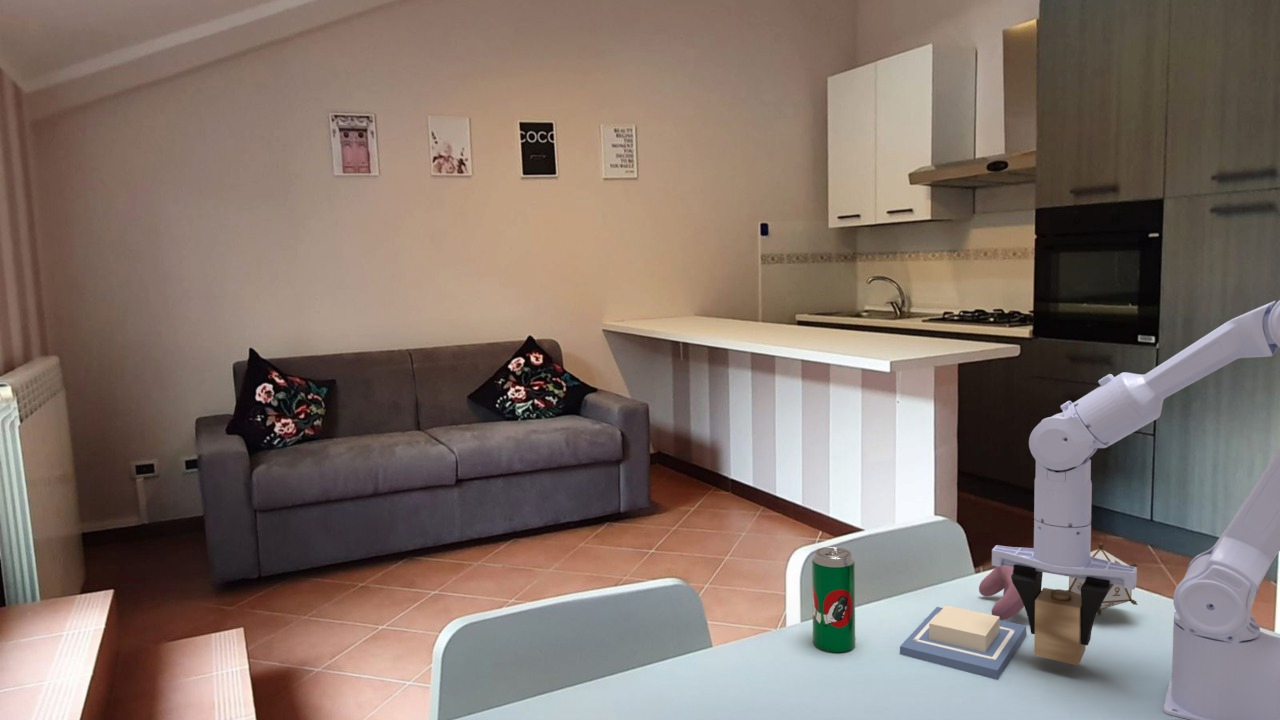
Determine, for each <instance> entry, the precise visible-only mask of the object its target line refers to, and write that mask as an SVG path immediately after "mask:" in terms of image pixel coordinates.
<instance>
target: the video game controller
mask: <svg viewBox="0 0 1280 720" xmlns="http://www.w3.org/2000/svg"><path fill="white" fill-rule="evenodd" d="M1013 569H1014V567H1010V566H1004V565H1003V566H1001V567H998V566H994V569H993V570H992V571H991V572H990V573H988V574H987V575H986V576H985V577H984V578H983V579H982V581H981V582H980V583H979V585H978V586H979V587H978V591H979V593H980V595H981V596H983V597H992V596H994V595H997V594H998V593H1000V592H1001V591H1003V593H1002V596H1001V597H1000V599H997V600H998V601H996V602H995V603H994V605H993V607H992V609H991V615H994V616H999V617H1000V620H1002V621H1007V620H1009V619H1012V618H1014V616H1016V615H1017V614H1019V612H1020V611H1021V610H1022V609H1023V608H1025V607H1024V604H1023V602H1022V600H1021V597H1020V595H1019V593H1018V591H1017V589H1016V588H1015V586H1014V584H1013V582H1012V579H1011V575H1012V574H1013Z"/></svg>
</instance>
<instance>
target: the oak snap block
mask: <svg viewBox="0 0 1280 720" xmlns="http://www.w3.org/2000/svg"><path fill="white" fill-rule="evenodd" d="M1066 590H1067V589H1066ZM1066 590H1065V589H1060V588H1057V589H1056V588H1055V589H1054V588H1049V587H1048V588H1047V587H1043V588H1041V592H1040V594H1039V595H1038V597H1037V598H1036V600H1035V634H1034V645H1033V647H1034V651H1033V652H1034V654H1033V656H1035V657H1036V656H1037V657H1040V658H1043V659H1044V658H1045V659H1048V660H1053V661H1057V662H1062V663H1067V664H1070V665H1071V664H1072V665H1075V666H1079V665H1080V663H1081V660H1082V658H1083V657H1084V654H1085V652H1086V650H1087V649H1086V646H1087V645H1082V644H1081V624H1082V601H1081V594H1076V593H1071V592H1068V591H1066Z"/></svg>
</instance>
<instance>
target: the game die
mask: <svg viewBox="0 0 1280 720" xmlns="http://www.w3.org/2000/svg"><path fill="white" fill-rule="evenodd" d="M1103 548H1104V544H1103V543H1102V541H1100V542H1099V543H1098V548H1097V549H1094V550H1091V554H1090V556H1091V557H1095V558H1099V559H1103V560H1106V561H1110V562H1114V563H1118V564H1122V565H1127V566H1132V567H1137V566H1138V565H1139V563H1136V562H1133V563H1131V564H1129V563H1128V562H1125V561H1124V560H1122V559H1121V558H1119V557H1117V556H1116V555H1113V554H1112V553H1111V552H1108V550H1105V549H1103ZM1137 568H1138V567H1137ZM1068 577H1069V576H1068ZM1085 580H1086V579H1080V578H1075V577H1069V578H1068V589H1066V591H1068V592H1071V593H1076V594H1081V587H1082V585H1083V583H1084V582H1085ZM1128 602H1130V604H1132V605H1137V606H1138V603H1137V601H1136V600H1135V599H1132V589H1127V588H1124V587H1123V586H1122V585H1116V584H1112V585H1111V587H1110V589H1109V591H1108V594H1107V595H1106V597H1105V599H1104V600H1103V602H1102V604H1101V605H1100V607H1099V609H1098V612H1097V615H1098V617H1099V616H1101V615H1102V612H1103V611H1102V610H1104V609H1106V608H1111V607H1114V606H1118V605H1122V604H1125V603H1128Z"/></svg>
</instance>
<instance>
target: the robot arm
mask: <svg viewBox="0 0 1280 720" xmlns="http://www.w3.org/2000/svg"><path fill="white" fill-rule="evenodd" d="M1279 349H1280V300H1278V301H1277V302H1276V300H1274V301H1271V302H1269V303H1266V304H1264V305H1261V306H1259V307H1257V308H1255V309H1252V310H1249V311H1247V312H1245V313H1243V314H1241V315H1238V316H1236V317H1234V318H1232V319H1229V320H1228V321H1226V322H1225V323H1223V324H1222V325H1220V326H1218V327H1217V328H1215V329H1214V330H1212V331H1211V332H1209V333H1207V334H1206V335H1204V336H1202V337H1201V338H1199V339H1198V340H1196V341H1194V343H1192V344H1190V345H1189V346H1187V347H1186V348H1184V349H1183V350H1180V351H1179V352H1177V353H1176V354H1174V355H1173V356H1172V357H1170V358H1168V359H1167V360H1166V361H1165V360H1164V361H1163V362H1162V363H1161V364H1159V365H1157V366H1156V367H1154V368H1153V369H1151V370H1149V371H1148V372H1146V373H1145V374H1140V373H1139V374H1138V373H1133V372H1126V371H1125V372H1121V373H1119V374H1118V375H1116V376H1114V375H1113V374H1111V373H1108V374H1106V376H1103V377H1102V378H1101V379H1099V380H1098V382H1097V383H1098V384H1099V386H1098V387H1096V388H1095V389H1093V390H1091V391H1090V392H1088V393H1087V394H1085V395H1083V396H1082V397H1081V398H1079V399H1077V400H1076V401H1074V402H1072V400H1068V401H1066V402H1065V403H1063V404H1061V405H1060V409H1061V410H1062V412H1059V413H1056V414H1054V415H1052V416H1050V417H1049V416H1048V417H1045V418H1043V419H1042V420H1041V421H1040V422H1039V423H1038V424H1037V425H1036V426H1035V427H1034V428H1033V430H1032V431H1031V432H1030V435H1029V438H1028V447H1029V451H1030V453H1031V455H1032V457H1033V458H1034V460H1035V478H1034V498H1033V499H1034V500H1033V502H1034V503H1033V504H1034V505H1033V506H1034V507H1033V508H1034V510H1033V511H1034V512H1033V514H1034V515H1033V519H1034V520H1033V523H1034V524H1033V526H1034V527H1033V547H1017V546H1015V547H1014V546H1006V545H1005V546H1004V545H999V544H997V545H994V547H993V548H992V549H991V566H993V567H996V566H998V567H1001V566H1003V565H1004V566H1010V567H1014V569H1013V574H1012V575H1011V579H1012V582H1013V584H1014V586H1015V588H1016V589H1017V591H1018V593H1019V595H1020V597H1021V600H1022V602H1023V604H1024V607H1023V608H1024V609H1025V612H1026V613H1025V614H1026V615H1027V620H1028V623H1029V630H1030V634H1031V635H1035V600H1036V598H1037V597H1038V595H1039V594H1040V592H1041V591H1042V584H1043V573H1044V574H1046V573H1047V574H1050V575H1051V574H1052V575H1058V576H1064V577H1075V578H1080V579H1086V580H1085V582H1084V583H1083V585H1082V587H1081V601H1082V624H1081V644H1082V645H1086V646H1089V643H1090V641H1091V638H1092V630H1093V628H1094V627H1093V626H1094V623H1095V620H1096V617H1097V615H1098V613H1097V612H1098V609H1099V607H1100V605H1101V604H1102V602H1103V600H1104V599H1105V597H1106V595H1107V594H1108V591H1109V589H1110V587H1111V585H1112V584H1116V585H1122V586H1123V587H1124V588H1127V589H1132V590H1135V589H1136V586H1137V585H1138V583H1137V582H1138V581H1137V580H1138V579H1137V578H1138V567H1132V566H1127V565H1122V564H1118V563H1114V562H1110V561H1106V560H1103V559H1099V558H1095V557H1091V556H1090V554H1091V551H1092V549H1091V548H1092V546H1091V544H1092V500H1093V499H1092V496H1093V495H1092V491H1093V483H1092V480H1091V477H1092V474H1091V473H1092V471H1091V470H1092V467H1091V466H1092V464H1091V463H1092V460H1091V459H1090V458H1091V457H1092V456H1093V455H1094V454H1095V453H1096V452H1097V450H1098V449H1106V448H1109V447H1110V446H1111V445H1114V444H1115V443H1117V442H1119V441H1120V440H1122V439H1124V438H1125V437H1127V436H1129V435H1132V434H1133V433H1135V432H1136V431H1138V430H1139V429H1141V428H1143V427H1145V426H1147V425H1149V424H1150V423H1152V422H1154V421H1155V420H1157V419H1159V418H1160V416H1161V414H1162V409H1163V405H1164V404H1163V403H1164V401H1165V399H1166V398H1168V397H1170V396H1172V395H1173V394H1176V393H1177V392H1179V391H1181V390H1183V389H1185V388H1186V387H1188V386H1190V385H1192V384H1194V383H1196V382H1197V381H1200V380H1201V379H1203V378H1205V377H1206V376H1209V375H1210V374H1212V373H1214V372H1216V371H1217V370H1219V369H1221V368H1223V367H1225V366H1227V365H1229V364H1230V363H1233V362H1234V361H1236V360H1238V359H1250V358H1266V357H1267V358H1270V357H1273V356H1274V355H1275V354H1276V353H1277V351H1278V350H1279ZM1279 553H1280V447H1278V449H1277V451H1276V452H1275V454H1274V456H1273V457H1272V458H1271V460H1270V462H1269V463H1268V465H1267V466H1266V468H1265V469H1264V470H1263V472H1262V473H1261V475H1260V477H1259V479H1258V480H1257V481H1256V483H1255V484H1254V486H1253V487H1252V489H1251V490H1250V492H1249V494H1248V495H1247V496H1246V498H1245V500H1244V501H1243V503H1242V504H1241V506H1240V507H1239V509H1238V511H1237V512H1236V513H1235V514H1234V517H1233V518H1232V520H1231V521H1230V523H1229V524H1228V525H1227V527H1226V528H1225V529H1224V531H1223V532H1222V534H1221V535H1220V537H1218V539H1217V541H1216V542H1215V544H1214V545H1213V546H1212V547H1211V548H1209V549H1207V550H1205V551H1203V552H1201V553H1199V554H1197V555H1196V556H1194V557H1193V558H1192V559H1191V560H1190V562H1189V564H1188V565H1187V568H1186V573H1185V575H1184V577H1183V579H1182V580H1181V581H1180V582H1179V583H1178V584H1177V586H1176V587H1175V589H1174V593H1173V597H1172V598H1173V599H1172V600H1173V606H1174V610H1175V611H1174V613H1173V628H1172V630H1173V632H1172V634H1173V635H1172V661H1171V663H1172V665H1171V678H1170V679H1169V681H1168V687H1167V691H1166V695H1165V700H1164V705H1163V709H1162V710H1163V713H1164V714H1166V715H1169V716H1172V717H1173V716H1174V717H1177V718H1182V719H1184V720H1185V719H1186V720H1280V637H1278V636H1275V635H1271V634H1267V633H1265V632H1263V631H1261V629H1260V627H1261V626H1260V624H1259V623H1258V622H1256V619H1254V617H1253V615H1252V607H1253V605H1254V601H1255V599H1256V597H1257V596H1258V594H1259V590H1260V586H1261V583H1262V581H1263V579H1264V578H1265V576H1266V574H1267V572H1268V570H1269V569H1270V567H1271V565H1272V563H1273V562H1274V560H1275V558H1276V557H1277V555H1278V554H1279Z"/></svg>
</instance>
